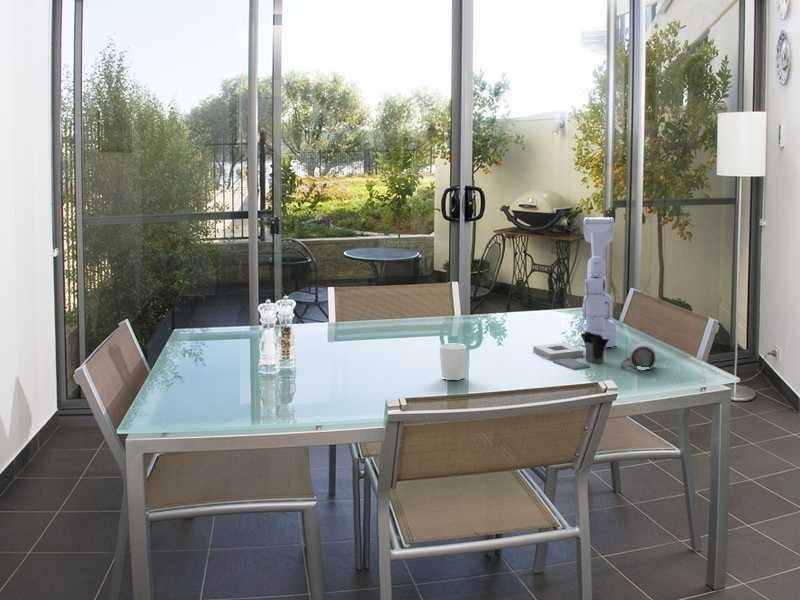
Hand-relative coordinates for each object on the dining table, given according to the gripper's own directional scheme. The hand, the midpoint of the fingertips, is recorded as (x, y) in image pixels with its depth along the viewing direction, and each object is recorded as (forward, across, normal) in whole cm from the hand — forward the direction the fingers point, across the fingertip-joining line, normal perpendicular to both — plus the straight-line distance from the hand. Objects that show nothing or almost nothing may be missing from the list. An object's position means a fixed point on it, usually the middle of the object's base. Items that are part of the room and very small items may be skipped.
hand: (594, 356), depth 299 cm
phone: (+2, +1, -9) cm, 9 cm away
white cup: (+2, +1, -49) cm, 49 cm away
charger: (+1, 0, 0) cm, 1 cm away
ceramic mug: (+2, +12, +8) cm, 15 cm away
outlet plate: (+1, -13, -6) cm, 14 cm away
